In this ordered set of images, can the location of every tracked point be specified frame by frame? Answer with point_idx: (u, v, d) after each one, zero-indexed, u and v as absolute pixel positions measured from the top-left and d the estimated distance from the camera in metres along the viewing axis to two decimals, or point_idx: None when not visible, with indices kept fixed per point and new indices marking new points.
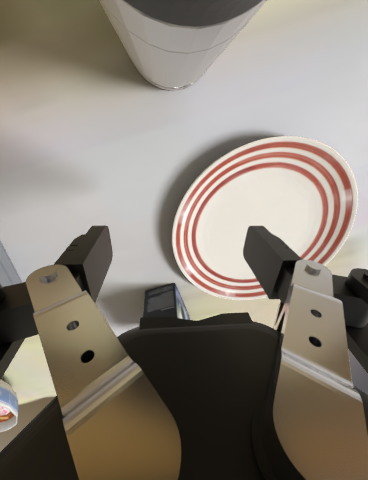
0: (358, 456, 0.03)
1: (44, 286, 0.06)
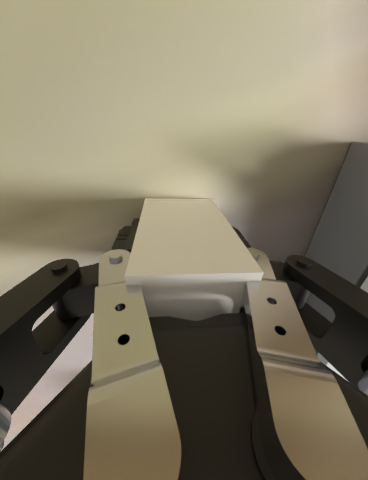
0: (358, 456, 0.03)
1: (117, 266, 0.07)
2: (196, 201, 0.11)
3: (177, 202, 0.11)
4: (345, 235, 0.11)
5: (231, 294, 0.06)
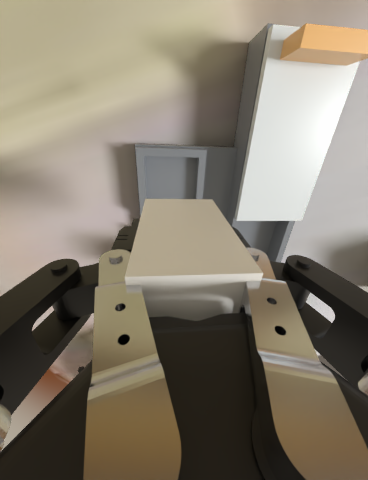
0: (358, 456, 0.03)
1: (117, 266, 0.07)
2: (196, 201, 0.11)
3: (177, 203, 0.11)
4: (247, 98, 0.20)
5: (231, 295, 0.06)
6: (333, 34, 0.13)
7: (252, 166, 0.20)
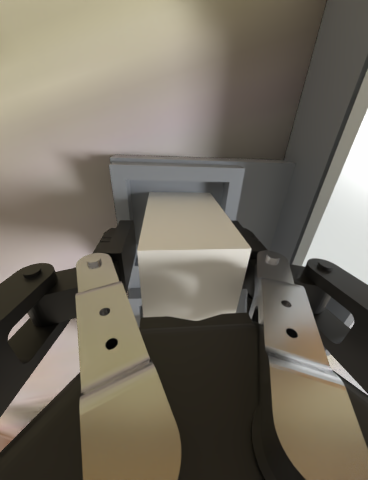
0: (358, 456, 0.03)
1: (94, 270, 0.07)
2: (195, 194, 0.12)
3: (178, 195, 0.12)
4: (333, 68, 0.10)
5: (224, 268, 0.07)
6: None
7: (338, 203, 0.10)
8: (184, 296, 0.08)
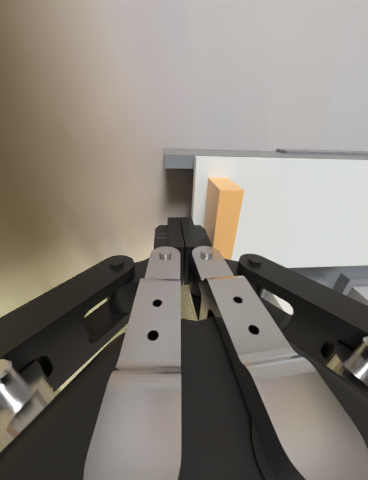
0: (358, 456, 0.03)
1: (170, 262, 0.07)
2: (267, 296, 0.22)
3: None
4: None
5: None
6: None
7: (316, 261, 0.16)
8: None
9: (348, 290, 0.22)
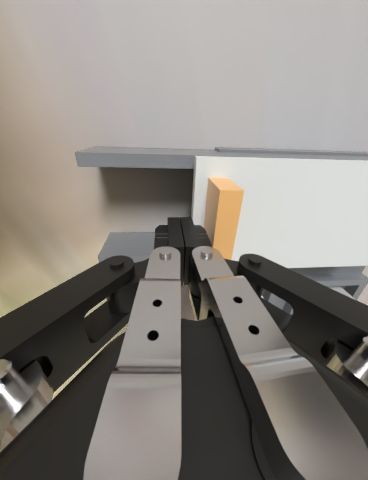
0: (358, 456, 0.03)
1: (170, 262, 0.07)
2: None
3: None
4: None
5: None
6: None
7: (316, 261, 0.16)
8: None
9: None
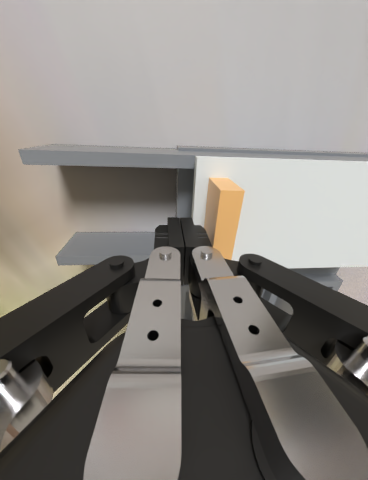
0: (358, 456, 0.03)
1: (170, 262, 0.07)
2: None
3: None
4: None
5: None
6: None
7: (315, 261, 0.16)
8: None
9: None
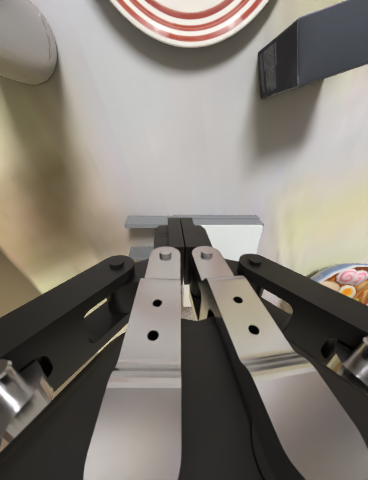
0: (358, 456, 0.03)
1: (170, 262, 0.07)
2: None
3: None
4: None
5: (188, 296, 0.41)
6: None
7: None
8: None
9: None
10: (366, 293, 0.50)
